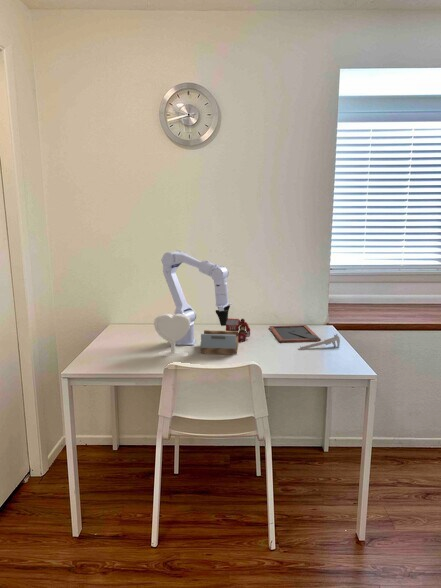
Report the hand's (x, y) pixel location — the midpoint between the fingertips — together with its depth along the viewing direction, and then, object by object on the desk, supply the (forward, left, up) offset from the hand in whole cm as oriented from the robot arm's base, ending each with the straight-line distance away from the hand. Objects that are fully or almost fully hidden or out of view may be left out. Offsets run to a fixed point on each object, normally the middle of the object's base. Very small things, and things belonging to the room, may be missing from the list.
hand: (224, 323), depth 187 cm
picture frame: (+33, +26, -13) cm, 44 cm away
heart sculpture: (-22, -8, -12) cm, 27 cm away
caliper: (+43, +6, -13) cm, 45 cm away
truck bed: (-2, 0, -12) cm, 12 cm away
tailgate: (-2, -7, -9) cm, 12 cm away
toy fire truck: (+5, +16, -12) cm, 21 cm away
